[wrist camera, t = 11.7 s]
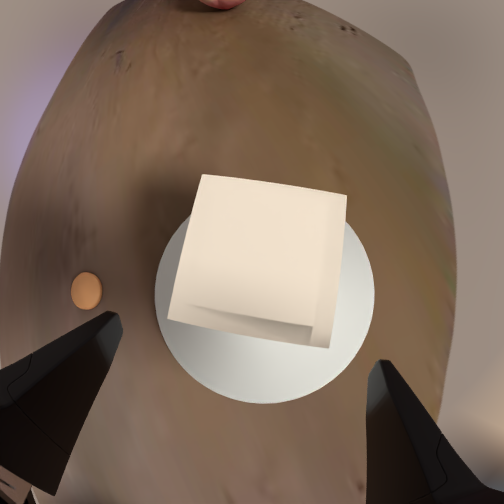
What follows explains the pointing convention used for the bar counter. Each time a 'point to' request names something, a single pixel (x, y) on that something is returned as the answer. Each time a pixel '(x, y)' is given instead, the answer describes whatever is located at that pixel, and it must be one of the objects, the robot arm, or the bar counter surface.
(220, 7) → the decorative fruit
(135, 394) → the bar counter surface
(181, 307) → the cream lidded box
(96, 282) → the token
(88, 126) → the bar counter surface
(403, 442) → the robot arm
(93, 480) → the bar counter surface
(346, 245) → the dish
